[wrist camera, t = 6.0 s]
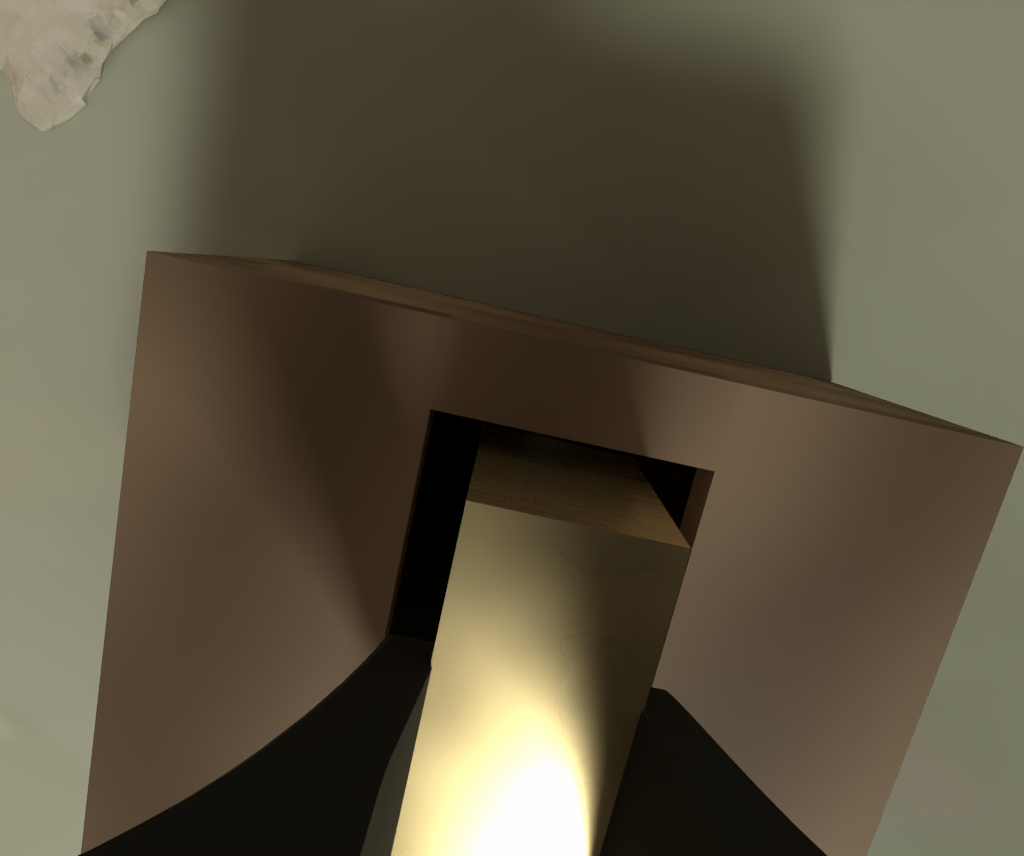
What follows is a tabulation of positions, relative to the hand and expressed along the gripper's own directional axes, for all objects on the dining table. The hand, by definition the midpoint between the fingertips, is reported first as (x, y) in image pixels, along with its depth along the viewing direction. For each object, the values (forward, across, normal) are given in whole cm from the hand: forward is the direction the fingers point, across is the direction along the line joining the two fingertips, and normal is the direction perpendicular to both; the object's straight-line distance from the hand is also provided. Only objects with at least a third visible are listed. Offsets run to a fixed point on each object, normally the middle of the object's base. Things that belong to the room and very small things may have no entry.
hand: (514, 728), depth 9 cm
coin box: (+7, 0, 0) cm, 7 cm away
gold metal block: (+3, 0, 0) cm, 3 cm away
